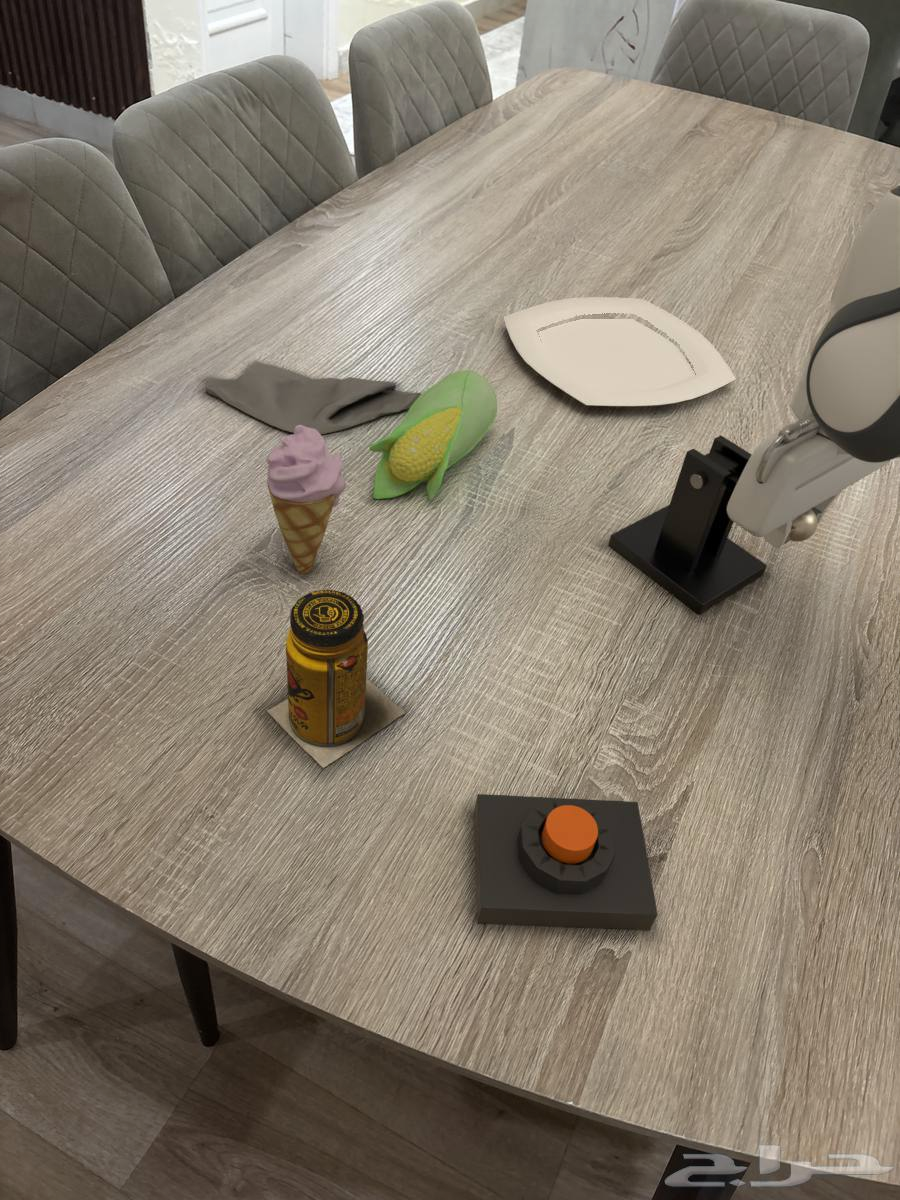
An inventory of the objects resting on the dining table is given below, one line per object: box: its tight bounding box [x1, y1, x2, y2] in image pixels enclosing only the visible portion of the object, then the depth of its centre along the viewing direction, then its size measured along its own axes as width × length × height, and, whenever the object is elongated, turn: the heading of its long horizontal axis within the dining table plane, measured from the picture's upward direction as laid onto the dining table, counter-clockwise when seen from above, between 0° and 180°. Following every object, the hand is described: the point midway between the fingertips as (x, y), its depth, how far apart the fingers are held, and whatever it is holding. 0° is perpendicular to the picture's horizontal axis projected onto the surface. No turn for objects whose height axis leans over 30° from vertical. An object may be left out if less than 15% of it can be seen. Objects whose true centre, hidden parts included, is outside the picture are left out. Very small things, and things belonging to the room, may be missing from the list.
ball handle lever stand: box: [607, 435, 768, 616], centre depth 89 cm, size 12×10×13 cm
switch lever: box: [704, 450, 818, 543], centre depth 84 cm, size 12×3×3 cm, turn 39°
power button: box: [542, 805, 598, 864], centre depth 64 cm, size 4×4×2 cm
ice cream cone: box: [266, 425, 347, 575], centre depth 83 cm, size 7×6×15 cm
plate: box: [503, 296, 737, 408], centre depth 121 cm, size 27×27×2 cm
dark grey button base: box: [473, 793, 658, 931], centre depth 66 cm, size 12×9×4 cm
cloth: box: [204, 361, 422, 435], centre depth 107 cm, size 26×14×2 cm, turn 81°
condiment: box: [266, 589, 406, 769], centre depth 72 cm, size 7×8×12 cm
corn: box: [369, 369, 498, 500], centre depth 100 cm, size 8×8×20 cm
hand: (790, 532), depth 83 cm, fingers closed on switch lever, 3 cm apart
